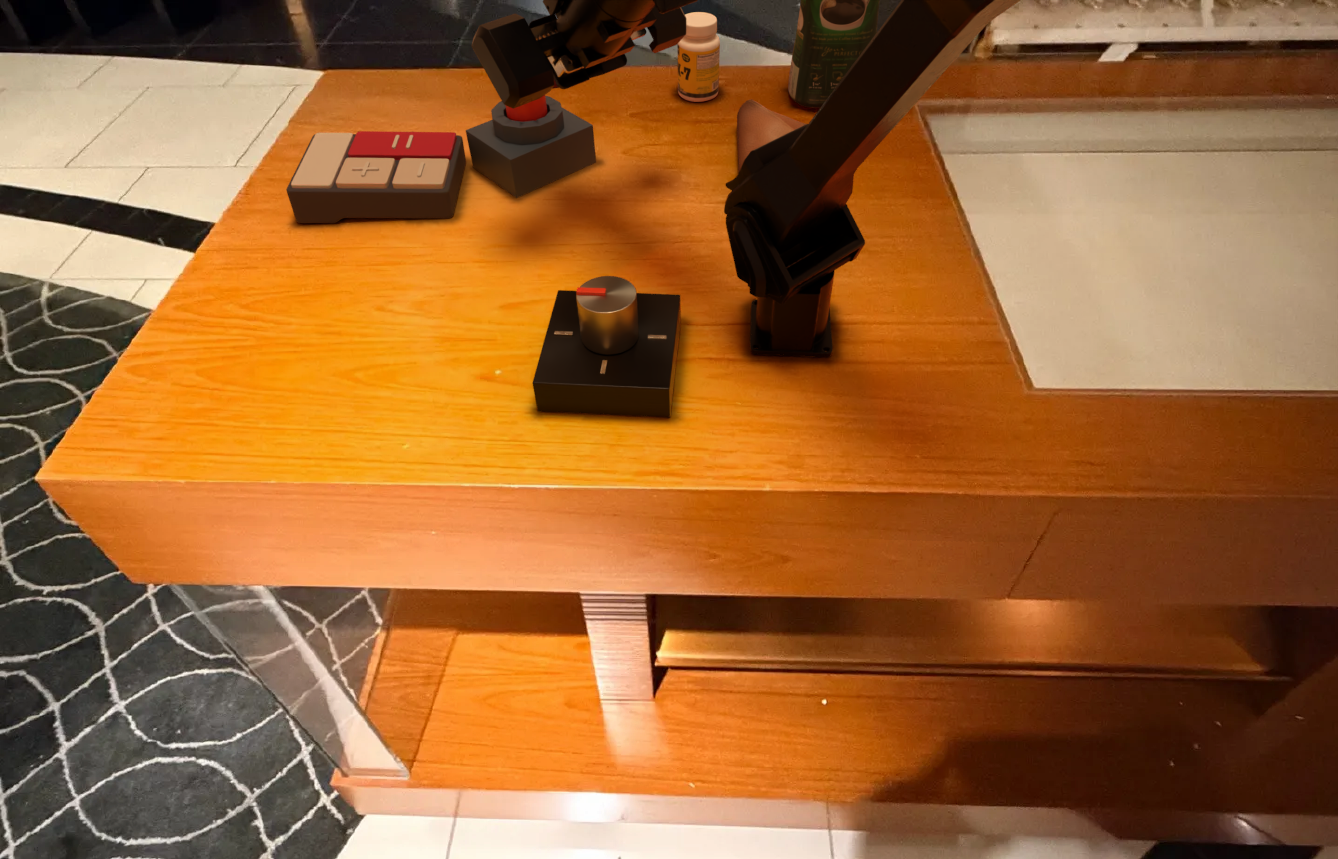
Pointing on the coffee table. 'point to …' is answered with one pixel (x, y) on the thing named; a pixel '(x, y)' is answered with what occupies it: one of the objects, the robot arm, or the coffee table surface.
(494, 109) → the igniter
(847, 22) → the coffee jar
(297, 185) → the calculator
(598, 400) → the panel
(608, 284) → the stove knob
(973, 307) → the coffee table surface
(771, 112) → the sunglasses case
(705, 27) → the supplement bottle
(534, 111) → the button
